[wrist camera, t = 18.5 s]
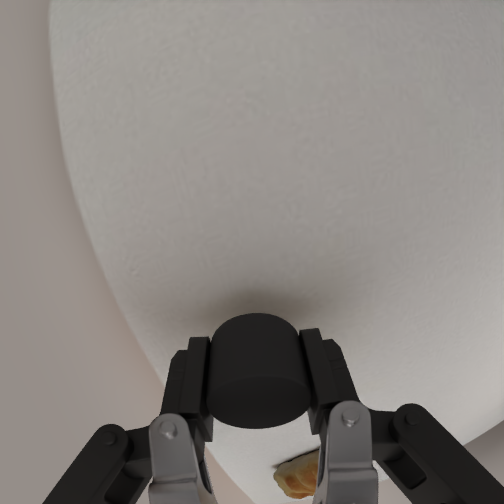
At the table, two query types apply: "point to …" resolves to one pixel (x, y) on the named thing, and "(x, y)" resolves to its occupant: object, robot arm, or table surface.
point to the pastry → (298, 476)
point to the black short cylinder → (257, 373)
